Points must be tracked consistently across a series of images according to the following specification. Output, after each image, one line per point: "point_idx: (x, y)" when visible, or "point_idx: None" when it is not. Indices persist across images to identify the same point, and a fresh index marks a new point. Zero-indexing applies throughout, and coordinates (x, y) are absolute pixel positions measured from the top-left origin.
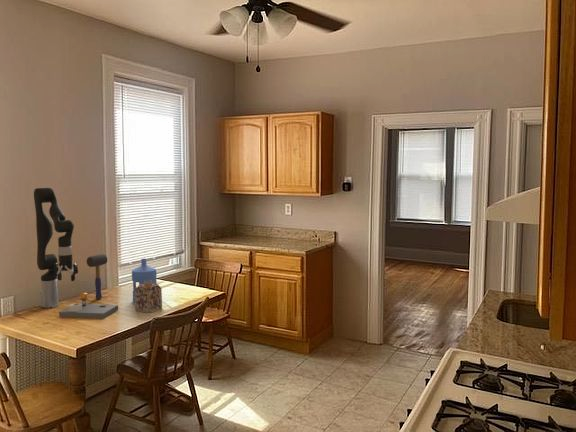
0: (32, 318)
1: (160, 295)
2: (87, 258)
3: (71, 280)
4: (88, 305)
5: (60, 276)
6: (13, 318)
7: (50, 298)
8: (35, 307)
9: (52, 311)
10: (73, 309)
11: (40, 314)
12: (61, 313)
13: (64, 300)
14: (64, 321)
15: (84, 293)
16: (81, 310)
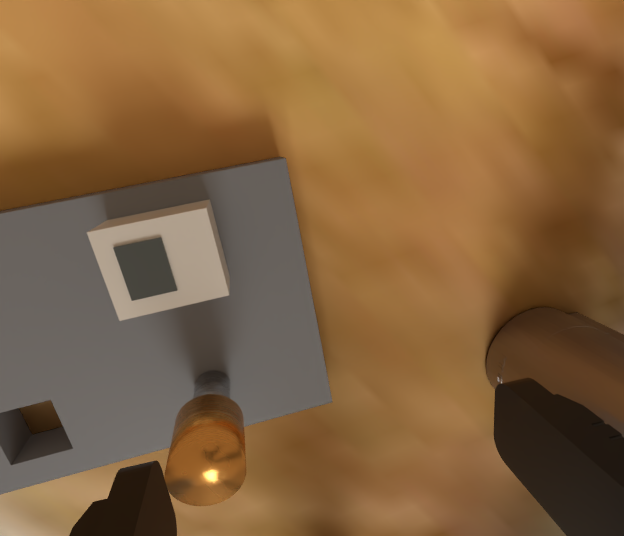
0: (465, 49)
1: None
2: None
3: (143, 470)
4: None
5: (564, 490)
6: (608, 6)
7: (557, 359)
8: (609, 297)
9: (438, 262)
10: (149, 214)
11: (474, 168)
12: (259, 162)
13: None
14: (117, 45)
15: (183, 468)
16: None
